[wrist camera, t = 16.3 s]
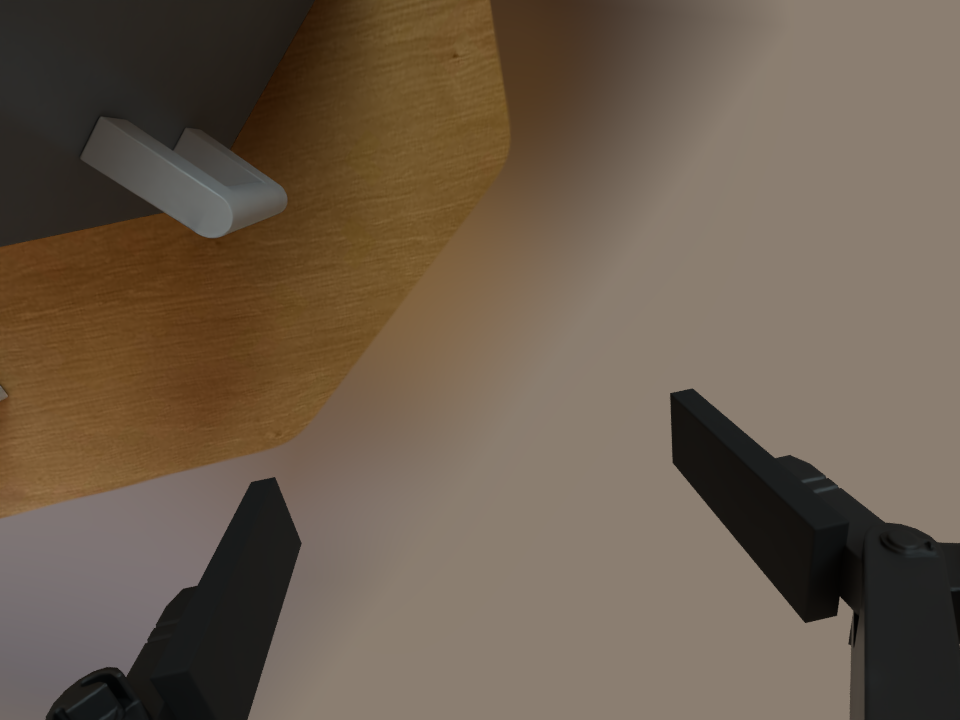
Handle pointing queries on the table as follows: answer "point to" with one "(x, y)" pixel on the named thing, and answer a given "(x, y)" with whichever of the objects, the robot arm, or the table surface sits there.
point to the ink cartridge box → (2, 394)
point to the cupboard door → (134, 112)
